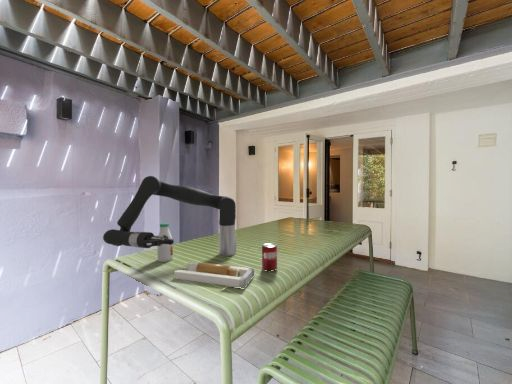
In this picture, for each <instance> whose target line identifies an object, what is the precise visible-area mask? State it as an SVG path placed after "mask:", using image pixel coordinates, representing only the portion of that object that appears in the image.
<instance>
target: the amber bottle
mask: <svg viewBox="0 0 512 384" xmlns="http://www.w3.org/2000/svg"><path fill="white" fill-rule="evenodd" d="M197 263H198V265H197V267H196V272H202V273H210V274H218V275H227V276H235V277H239V276H240V270H239V269H237V270H235V269H230V266H231V265H229V264H228V265H226V264H217V263H209V262H208V263H207V262H197Z"/></svg>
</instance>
